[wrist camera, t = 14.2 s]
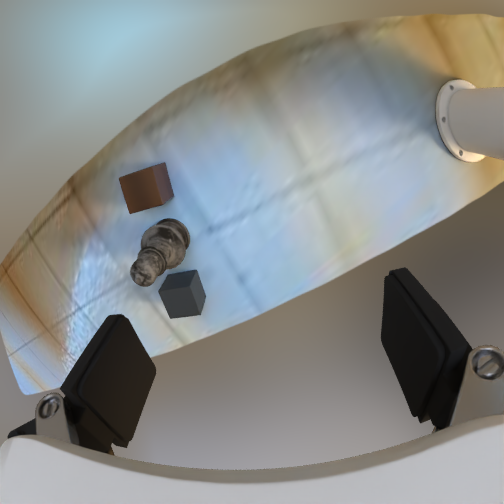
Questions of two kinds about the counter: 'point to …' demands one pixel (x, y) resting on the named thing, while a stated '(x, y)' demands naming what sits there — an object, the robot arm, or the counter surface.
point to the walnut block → (146, 188)
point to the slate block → (183, 294)
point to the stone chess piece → (160, 251)
